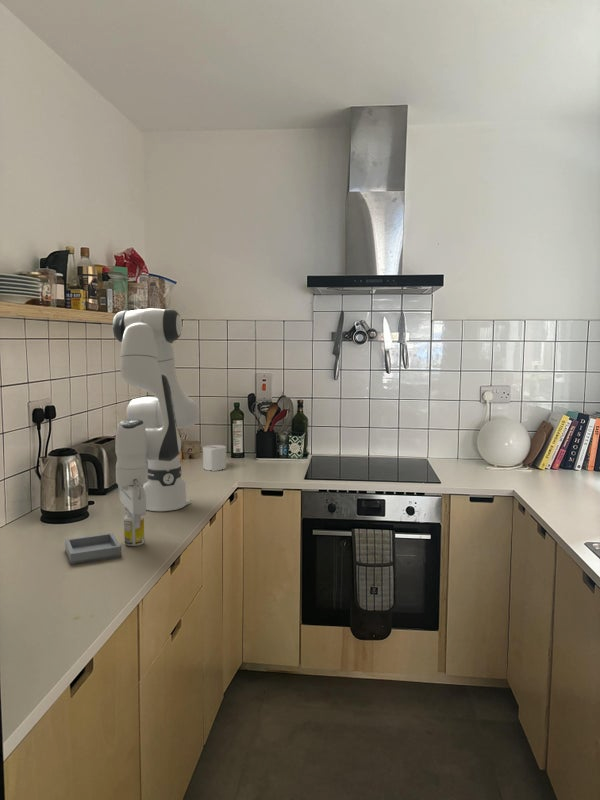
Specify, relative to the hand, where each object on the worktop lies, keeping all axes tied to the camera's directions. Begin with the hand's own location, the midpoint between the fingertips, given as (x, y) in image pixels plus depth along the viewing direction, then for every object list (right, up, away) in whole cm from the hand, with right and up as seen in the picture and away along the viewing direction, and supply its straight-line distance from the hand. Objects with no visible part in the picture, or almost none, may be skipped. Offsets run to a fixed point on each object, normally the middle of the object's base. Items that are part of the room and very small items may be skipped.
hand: (132, 523), depth 174 cm
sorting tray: (-9, -7, -7) cm, 13 cm away
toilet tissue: (+9, +4, +103) cm, 104 cm away
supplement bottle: (0, -6, +1) cm, 6 cm away
